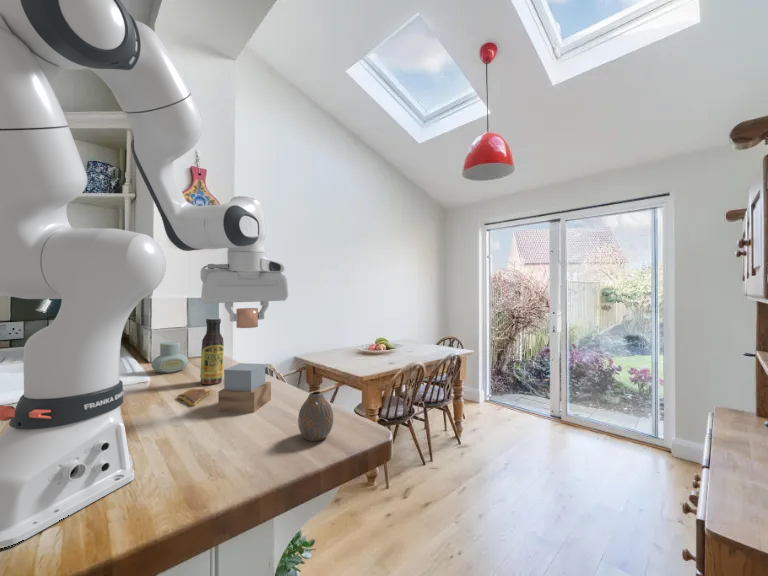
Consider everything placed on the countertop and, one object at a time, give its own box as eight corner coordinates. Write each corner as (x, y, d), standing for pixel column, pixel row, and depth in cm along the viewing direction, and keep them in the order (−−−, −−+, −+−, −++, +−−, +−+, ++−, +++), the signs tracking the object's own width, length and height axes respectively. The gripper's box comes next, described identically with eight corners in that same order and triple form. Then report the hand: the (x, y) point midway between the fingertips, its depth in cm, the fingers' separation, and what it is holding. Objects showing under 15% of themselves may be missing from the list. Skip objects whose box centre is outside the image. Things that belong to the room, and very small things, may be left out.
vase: (340, 434, 70) (340, 390, 70) (317, 448, 64) (317, 400, 64) (314, 426, 73) (314, 385, 73) (290, 439, 67) (290, 394, 67)
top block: (251, 391, 82) (251, 370, 82) (224, 390, 83) (224, 369, 83) (265, 383, 89) (265, 363, 89) (240, 382, 90) (240, 363, 90)
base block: (254, 413, 82) (254, 392, 82) (218, 412, 83) (218, 391, 83) (270, 400, 91) (270, 381, 91) (238, 399, 92) (238, 380, 92)
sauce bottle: (202, 386, 102) (202, 319, 102) (198, 382, 107) (197, 318, 107) (226, 382, 106) (226, 318, 106) (221, 378, 111) (220, 317, 111)
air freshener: (185, 366, 127) (185, 339, 127) (190, 371, 121) (190, 342, 121) (150, 371, 120) (150, 343, 120) (153, 376, 114) (153, 346, 114)
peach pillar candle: (252, 328, 83) (252, 309, 83) (232, 327, 84) (232, 309, 84) (261, 325, 88) (261, 308, 88) (242, 325, 89) (242, 307, 89)
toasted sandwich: (193, 409, 85) (193, 401, 85) (162, 409, 85) (162, 402, 85) (214, 394, 96) (214, 388, 96) (186, 395, 96) (186, 388, 96)
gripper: (203, 262, 77) (204, 324, 77) (290, 265, 90) (290, 318, 90) (197, 264, 82) (198, 322, 82) (281, 266, 95) (281, 316, 95)
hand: (247, 320), depth 86 cm, fingers closed on peach pillar candle, 5 cm apart
